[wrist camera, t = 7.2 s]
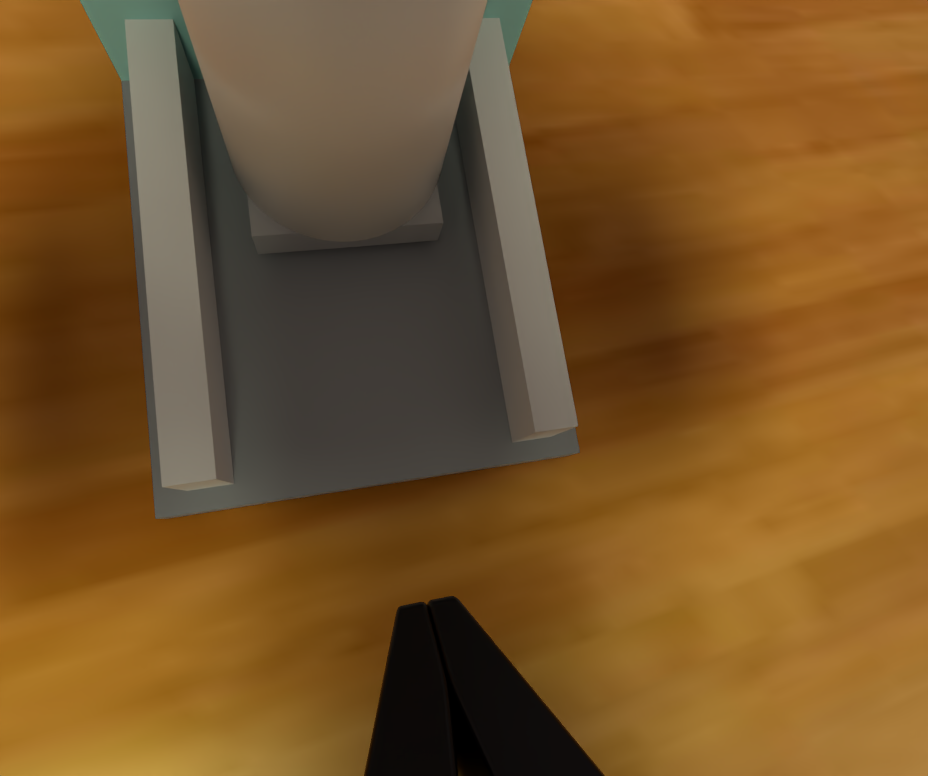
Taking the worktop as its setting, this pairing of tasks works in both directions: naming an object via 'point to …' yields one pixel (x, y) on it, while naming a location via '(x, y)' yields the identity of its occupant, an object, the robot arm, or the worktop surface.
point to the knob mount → (332, 301)
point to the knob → (336, 112)
